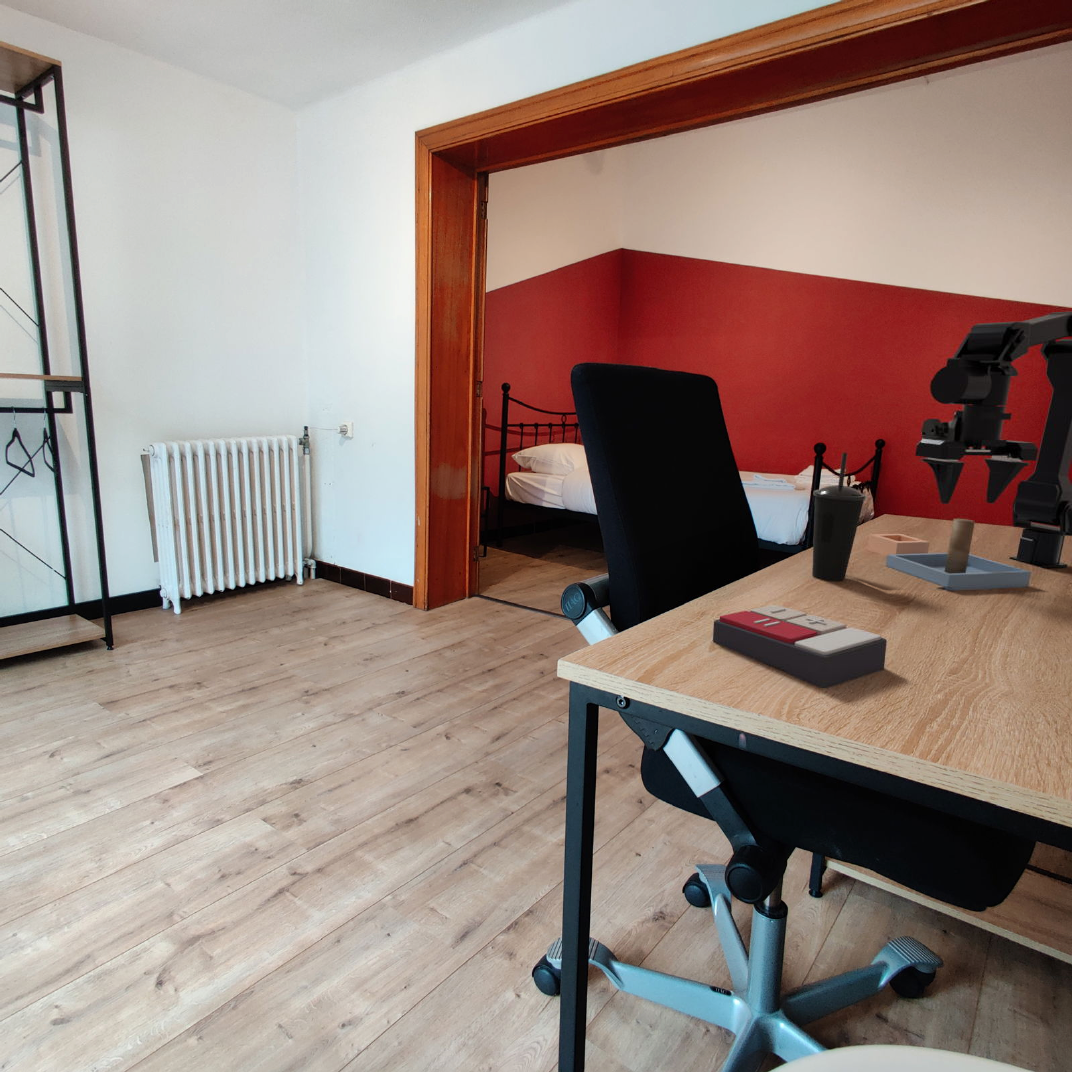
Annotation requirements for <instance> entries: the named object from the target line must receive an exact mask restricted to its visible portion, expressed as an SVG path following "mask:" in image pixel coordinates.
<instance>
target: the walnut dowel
mask: <svg viewBox="0 0 1072 1072" xmlns="http://www.w3.org/2000/svg"><path fill="white" fill-rule="evenodd" d="M975 522H976V521H975V520H971V519H966V518H953V520H952V526H951V530H950V531H951V532H950V536H949V544H948V549H947V553H948V554H947V560H946V566H945V571H944V572H946V573H949V574H951V573H966V569H967V563H968V557H969V554H970V551H971V546H972V540H973V534H974V529H975V524H976V523H975Z"/></svg>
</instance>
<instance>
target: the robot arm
mask: <svg viewBox="0 0 1072 1072" xmlns="http://www.w3.org/2000/svg"><path fill="white" fill-rule="evenodd" d="M1056 340H1057V341H1056ZM1041 344H1042V346H1041V348H1040V350H1039V352H1040V354H1041V355H1042V357H1043V359H1044V361H1045V362H1046V369H1045V370H1046V371H1045V376H1046V378H1047V379H1048V381H1049V384H1050V386H1051V388H1052V393H1051V398H1050V403H1049V407H1048V412H1047V416H1046V420H1045V425H1044V429H1043V434H1042V436H1041V442H1040V446H1039V448H1038V446H1037V445H1036V443H1035V442H1028V441H1019V440H1007V439H1001V437H1002V430H1003V425H1004V420H1005V421H1007V420H1008V421H1011V418H1012V412H1006V409H1007V403H1008V398H1009V397H1008V396H1009V392H1010V385H1011V380H1012V377H1013V378H1014V377H1018V375H1019V371H1018V369H1017V368H1016V367H1015V366H1013V364H1012V362H1014V361H1016V360H1018V359H1019V358H1021V357H1023V356H1025V355H1027V354H1028V353H1029V348H1031V347H1034V346H1038V345H1041ZM929 387H930V388H929V391H930V394H931V396H932V398H933V399H934V401H936V402H937V403H940V404H943V405H962V410H956V411H955V412H954V414H953V419H952V420H950V421H947V422H946V421H941V420H940V419H939V418H929V419H925V420H923V423H922V427H921V440H919V442H917V444H916V449H915V454H914V456H915V457H921V458H920V460H921V462H923V463H926V464H927V465H928V466H929V467H930V468H931V470H932V472H933V474H934V479H935V480H936V486H937V489H938V490H937V491H938V495H939V499H940V503H941V504H944V505H948V504H949V503H950V502H951V499H952V497H953V495H954V493H955V492H954V491H955V490H956V486H957V484H958V481H959V479H960V476H961V473H962V471H963V468H964V466H965V462H964V461H961V460H962V458H963V457H965V456H987V457H988V456H989V457H990V458H984V461H985V464H986V465H987V468H988V469H989V472H988V480H987V487H986V503H987V504H991V505H992V504H995V503H996V502H997V500H998V499H999V497H1000V496H1002V494H1003V492H1004V491H1005V490H1006V488H1007V487H1008V486H1009V485H1010V483H1012V481H1013V480H1014V479H1015V478H1016V477H1017V476H1018V475H1019V473H1020V472H1021V471H1022V470H1023V469H1024V468H1025V467H1029V465H1030V462H1031V461H1033V462H1035V461H1036V463H1035V468H1034V472H1033V473H1032V474H1030V475H1029V477H1028V478H1026V480H1021V481H1020V482H1019V483H1018V484H1017V490H1016V494H1015V497H1014V500H1013V502H1012V527H1014V528H1021V529H1022V532H1021V533H1022V534H1021V537H1020V538H1019V541H1018V542H1019V543H1018V547H1017V553H1016V556H1009V558H1008V559H1009V560H1011V561H1012V560H1013V561H1016V562H1020V563H1022V564H1027V565H1029V566H1034V567H1038V568H1041V569H1045V568H1046V569H1048V568H1051V569H1052V568H1068V565H1069V564H1068V563H1064V562H1061V558H1062V551H1063V549H1064V544H1065V543H1064V542H1065V537H1067V536H1068V537H1072V483H1071V480H1070V479H1069V471H1070V467H1071V463H1072V311H1056V312H1050V313H1049V314H1045V315H1043V316H1039V317H1034V318H1031V319H1027V320H1026V319H1025V320H1022V321H1003V322H985V323H984V322H983V323H976V324H974V325H972V327H970V331H969V332H968V333H967V334H966V336H965V337H964V338H963V340H962V342H961V344H960V345H959V347H958V349H957V350H956V351H955V353H954V355H953V356H952V357H948V358H947V360H946V365H945V366H943V367H942V368H940V369H939V370H938V371H936V372H935V374H934V375H933V378H932V379H931V381H930V384H929ZM1026 461H1027V462H1026ZM1028 461H1030V462H1028Z"/></svg>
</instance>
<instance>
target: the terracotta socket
mask: <svg viewBox="0 0 1072 1072" xmlns="http://www.w3.org/2000/svg"><path fill="white" fill-rule="evenodd" d="M868 535H869V536H868V540H867V541H868V542H867V549H866V550H867V551H868V552H871V553H874V554H876V555H880V556H882V557H886V558H887V555H890V554H922V553H929V548H930V541H928V540H924V539H920V538H916V537H914V536H913V537H912V536H909V535H906V534H902V533H879V534H878V533H875V534H874V533H873V534H868Z"/></svg>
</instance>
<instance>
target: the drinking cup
mask: <svg viewBox="0 0 1072 1072" xmlns="http://www.w3.org/2000/svg"><path fill="white" fill-rule="evenodd" d="M841 455H842V456H841V463H840V471H839V478H838V485H835V484H834V485H827V486H824V487H821V488H819V489H815V490H814V491H813V493H812V494H813V496H814V515H813V539H812V540H813V542H812V544H813V547H812V571H811V572H812V577H813V578H816V579H819V580H823V581H828V582H842V581H844V580H845V579H846V575H847V570H848V566H849V563H850V558H851V554H852V550H853V545H854V542H855V539H856V538H855V537H856V533H857V529H858V525H859V521H860V516H861V513H862V508H863V504H864V501H865V500H866V499H867V495H866V494H864V493H862V492H861V491H859V490H858V489H855V488H853V487H850V486H848V485H847V486H846V485H844V482H845V476H846V475H845V473H846V467H847V460H848V452H842V454H841Z"/></svg>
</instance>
